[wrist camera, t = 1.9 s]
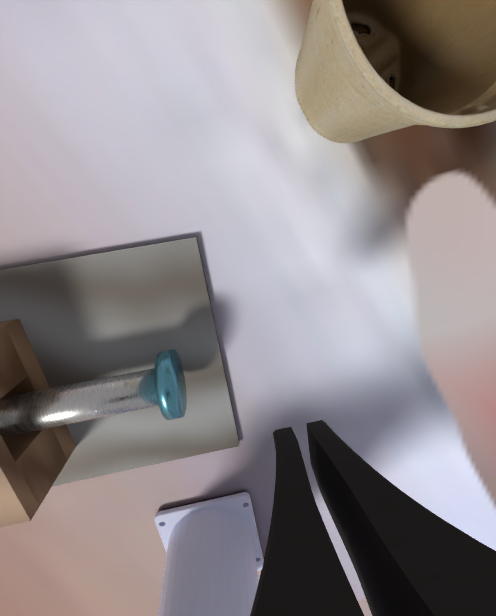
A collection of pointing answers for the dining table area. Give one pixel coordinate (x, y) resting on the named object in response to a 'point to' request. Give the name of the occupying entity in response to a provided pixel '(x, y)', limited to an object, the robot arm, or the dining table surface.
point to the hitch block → (107, 364)
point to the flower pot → (397, 66)
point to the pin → (99, 398)
